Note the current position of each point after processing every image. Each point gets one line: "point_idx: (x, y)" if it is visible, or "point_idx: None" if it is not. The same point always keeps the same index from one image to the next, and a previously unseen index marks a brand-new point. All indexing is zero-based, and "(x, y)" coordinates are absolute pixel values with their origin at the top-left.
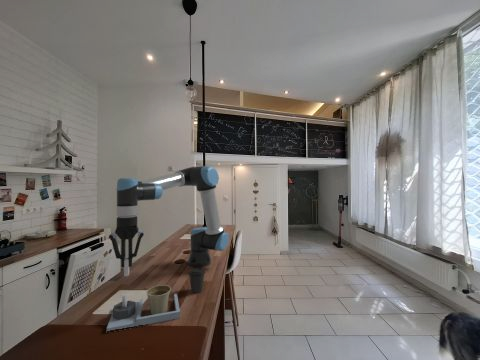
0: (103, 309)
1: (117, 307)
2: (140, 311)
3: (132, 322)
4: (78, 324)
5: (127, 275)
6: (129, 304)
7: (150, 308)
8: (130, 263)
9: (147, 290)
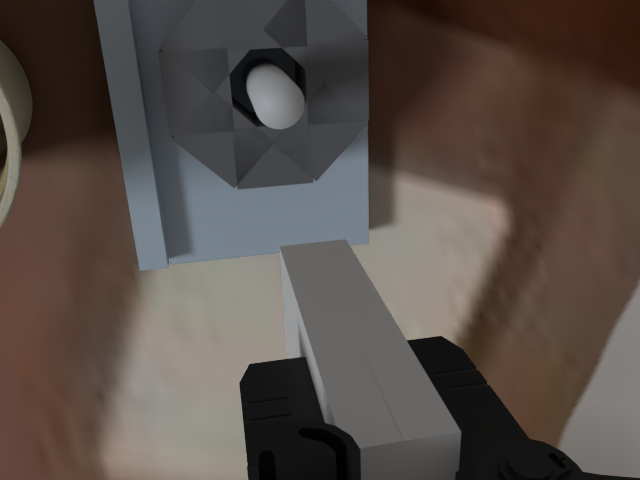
0: (444, 247)
1: (331, 71)
2: (101, 23)
3: None
4: (576, 74)
5: (294, 249)
6: (224, 102)
7: (9, 64)
8: (273, 405)
9: (14, 171)
